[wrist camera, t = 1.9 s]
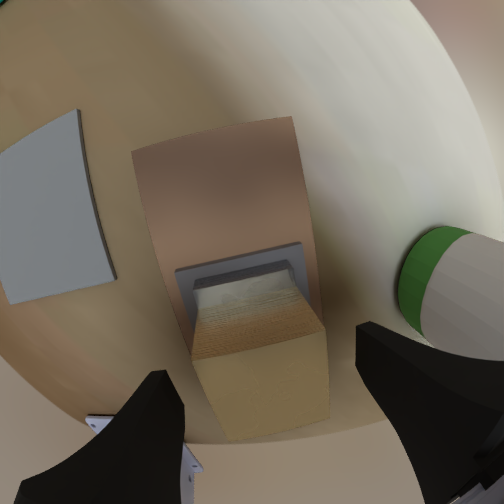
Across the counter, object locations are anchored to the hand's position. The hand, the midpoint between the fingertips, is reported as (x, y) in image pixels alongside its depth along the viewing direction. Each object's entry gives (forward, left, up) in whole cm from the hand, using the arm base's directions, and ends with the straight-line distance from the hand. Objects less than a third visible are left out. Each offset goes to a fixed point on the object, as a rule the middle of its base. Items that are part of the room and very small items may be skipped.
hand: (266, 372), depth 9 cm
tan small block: (0, 0, -3) cm, 3 cm away
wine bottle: (-2, -13, -7) cm, 15 cm away
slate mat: (+8, +12, -6) cm, 16 cm away
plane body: (0, 0, -6) cm, 6 cm away
